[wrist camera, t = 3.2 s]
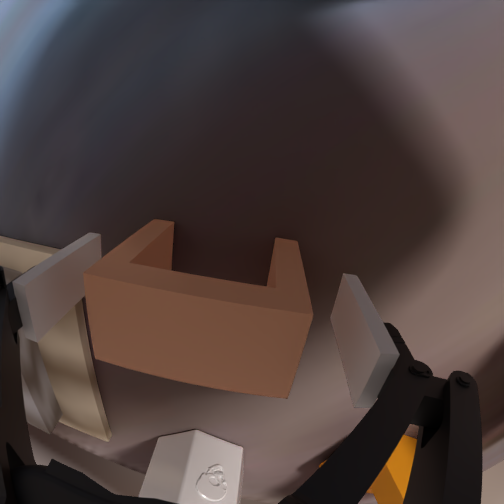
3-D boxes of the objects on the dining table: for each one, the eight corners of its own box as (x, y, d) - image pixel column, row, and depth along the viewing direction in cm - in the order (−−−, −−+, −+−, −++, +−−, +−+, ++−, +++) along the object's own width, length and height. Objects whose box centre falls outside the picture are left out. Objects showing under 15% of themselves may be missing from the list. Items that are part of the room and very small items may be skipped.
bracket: (314, 460, 24) (319, 568, 13) (370, 421, 22) (397, 544, 10) (382, 477, 26) (398, 561, 14) (432, 443, 23) (462, 533, 12)
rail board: (-29, 228, 18) (-60, 244, 14) (77, 252, 18) (41, 277, 14) (19, 394, 25) (2, 415, 21) (111, 435, 25) (98, 463, 21)
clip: (154, 218, 17) (83, 272, 10) (297, 241, 17) (313, 314, 10) (152, 282, 18) (95, 358, 11) (283, 304, 18) (287, 398, 11)
